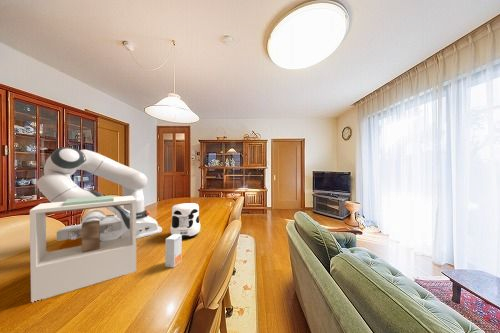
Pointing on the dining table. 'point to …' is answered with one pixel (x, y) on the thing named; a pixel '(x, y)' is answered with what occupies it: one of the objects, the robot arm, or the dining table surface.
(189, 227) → the milk container
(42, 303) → the dining table surface
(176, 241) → the skincare box
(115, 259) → the box
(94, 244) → the walnut block
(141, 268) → the dining table surface
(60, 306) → the dining table surface
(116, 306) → the dining table surface
